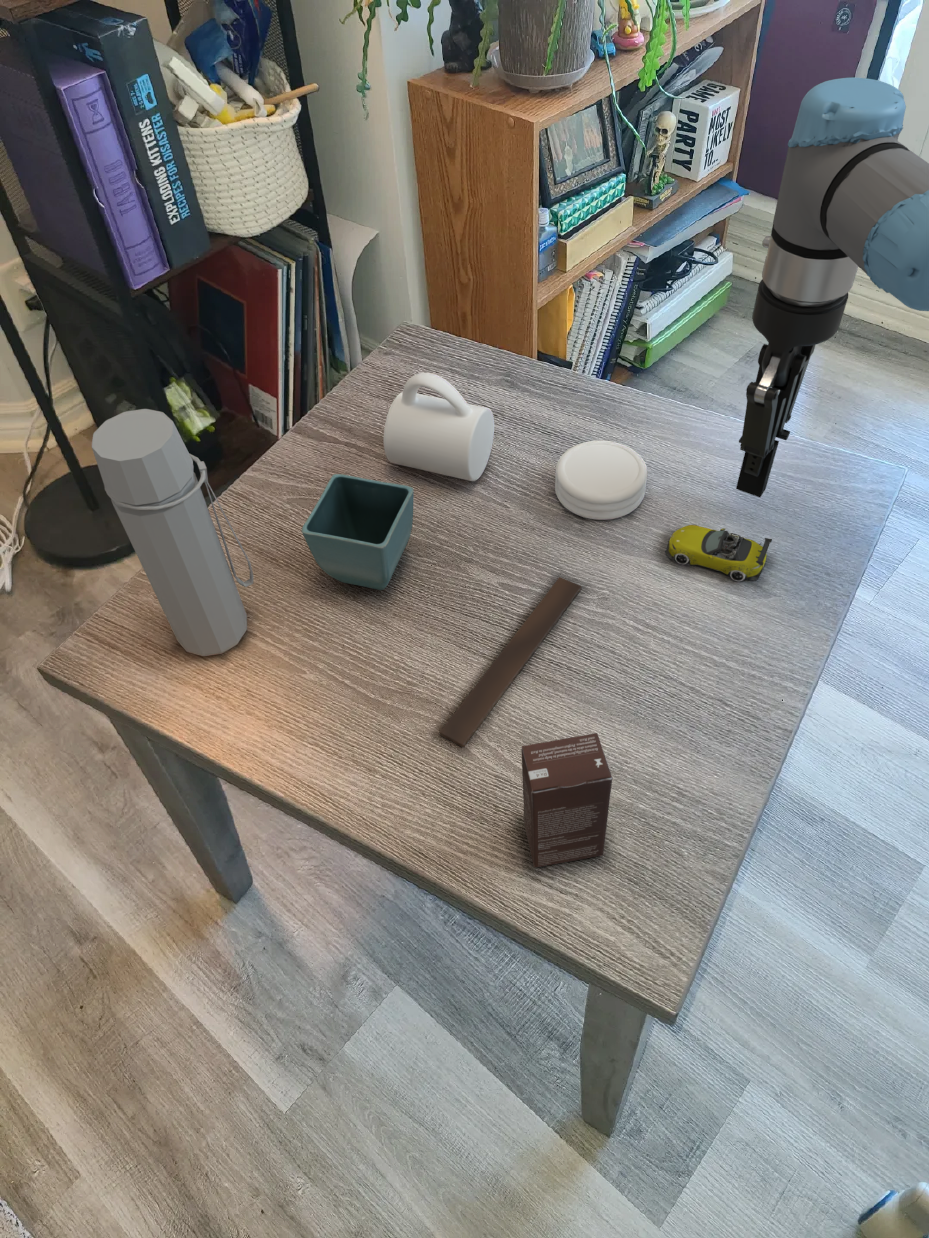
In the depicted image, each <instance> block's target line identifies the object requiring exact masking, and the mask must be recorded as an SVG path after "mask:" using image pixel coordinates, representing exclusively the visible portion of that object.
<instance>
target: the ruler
mask: <svg viewBox="0 0 929 1238" xmlns="http://www.w3.org/2000/svg"><path fill="white" fill-rule="evenodd" d="M582 587H583V586H582V585H579V584H577V583H575V582H573V581H570V580H569V579H565V578H563V577H561V576H558V578H557V579H556V580H555V582H554V583H553V584H552V585H551V587H550V588H549V590H548V591H547V592H546V593H545V595H544V596H543V598H542V599H541V600H540V601H539V602H538V604H537V605H536V606H535V608H534V609H533V610H532V611H531V613H530V614H529V615H528V617H527V618H526V619H525V621H524V622H523V623H522V625H521V626H520V627H519V629H518V630H517V631H516V632H515V634H514V635H513V636H512V637H511V639H510V640H509V642H508V643H506V645H505V646H504V648H503V649H502V651H500V653H499V654H498V656H497V657H496V658H495V659H494V661H493V662H492V663H491V664H490V666H489V667H488V668H487V670H486V671H485V672H484V673H483V675H482V676H481V678H480V679H479V680H478V681H477V682H476V684H475V685H474V686H473V688H472V689H471V690H470V692H469V693H468V694H467V696H466V697H465V698H464V699H463V700H462V702H461V703H460V705H459V706H458V707H457V708H456V710H455V711H454V712H453V714H452V715H451V716H450V718H448V719H447V721H446V723H445V724H444V725H443V726H442V728H441V729H440V730H439V732H438V735H439V736H440V737H443V739H444V738H445V739H447V740H448V741H450V742H452V743H454V744H455V745H458V746H460V747H461V748H465V747H466V745H467V744H468V742H469V741H470V740H471V739H472V737H473V736H474V734H475V733H476V731H477V730H478V729H479V727H480V726H481V725H482V724H483V722H484V721H485V719H486V718H487V717H488V715H489V714H491V711H492V710H493V709H494V707H495V706H496V705H497V704H498V702H499V701H500V700H501V698H502V697H503V695H504V694H505V693H506V691H507V690H508V688H509V687H510V686H511V685H512V683H513V682H514V680H515V679H516V678H517V677H518V676H519V674H520V672H522V671H523V668H524V667H525V666H526V664H527V663H528V662H529V661H530V659H531V658H532V657H533V655H534V654H535V652H537V650H538V649H539V648H540V646H541V644H542V643H543V642H544V640H545V639H546V638H547V636H548V635H549V634H550V632H551V631H552V629H553V628H554V627H555V626H556V624H557V622H559V620H560V619H561V617H562V616H563V615H564V614H565V612H566V611H567V609H568V608H569V607H570V606H571V604H572V603H573V601H574V600H575V599H576V598H577V596H578V595H579V593H580V592H581V591H582Z"/></svg>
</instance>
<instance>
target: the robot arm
mask: <svg viewBox="0 0 929 1238" xmlns="http://www.w3.org/2000/svg"><path fill="white" fill-rule="evenodd" d="M906 108H907V106H906V101H905V97H904V94H903V93H902V92H901V90H900V89H899V88H897V87H896V86H894V85H892V84H889V83H887V82H886V81H885V82H884V81H881V80H877V79H872V78H865V77H841V78H835V79H830V80H825V81H823V82H821V83H819V84H816V85H815V86H813V87H812V88H811V89H809V90H808V91H807V93H806V94H805V95H804V96H803V98H802V100H801V102H800V106H799V109H798V113H797V117H796V121H795V124H794V129H793V132H792V135H791V137H790V139H788V143H787V151H786V152H787V153H786V157H785V163H784V168H783V172H782V177H781V182H780V186H779V190H778V197H777V201H776V206H775V212H774V214H773V215H774V216H773V221H772V228H771V232H770V235H765V237H764V239H762V240H761V241H762V243H761V244H762V245H761V246H762V247H763V248H765V249H767V253H766V255H765V257H764V258H765V259H764V261H763V268H762V271H761V280H760V282H759V284H758V287H757V291H756V296H755V301H754V305H753V309H752V315H751V321H752V323H753V326H754V328H755V329H756V330H757V332H758V333H760V334H761V335H762V336H763V337H764V338H765V340H766V341H767V344H766V343H764V344H762V346H761V348H760V351H759V354H758V358H757V364H758V366H759V367H758V370H757V374H756V378H755V381H751V382H749V384H748V385H747V387H746V389H745V390H746V393H745V395H746V406H745V407H746V408H745V414H744V420H743V427H742V433H741V434H742V435H741V437H740V438H739V439H738V443H739V445H740V447H739V450H740V451H743V452H744V454H743V459H742V462H741V467H740V470H739V475H738V479H737V483H736V487H735V490H737V491H740V492H743V493H745V494H749V495H751V496H754V497H756V498H761V497H762V496H763V494H764V493H765V491H766V490H767V486H768V482H769V478H770V476H771V471H772V468H773V464H774V460H775V457H776V453H777V450H778V447H779V444H780V440H783V441H788V439H789V436H790V434H791V431H790V430H787V429H785V425H786V424H788V422H789V421H791V418H792V412H793V409H794V407H795V404H796V401H797V398H798V395H799V392H800V389H801V387H802V383H803V381H804V378H805V374H806V371H807V368H808V366H809V362H810V359H811V357H812V356H813V354H814V352H815V348H816V345H820V344H822V343H825V342H826V341H828V340H830V339H831V338H833V337H834V336H835V335H836V333H837V332H838V331H839V329H840V325H841V323H842V319H843V315H844V314H845V313H844V312H845V310H846V305H847V303H848V300H849V292H850V291H851V290H852V288H853V286H854V283H855V280H856V276H857V273H858V269H860V270H861V271H863V273H865V274H866V276H867V277H869V279H870V281H871V282H872V283H873V284H874V285H875V286H876V287H877V288H878V289H879V290H882V291H884V292H885V293H886V294H890V295H891V296H893V297H894V298H895V299H897V300H898V301H899V302H901V304H903V305H904V306H905V307H907V308H909V309H911V310H915V311H918V312H929V162H928V161H926V160H925V159H923V158H922V157H921V156H919V155H918V154H917V153H915V152H914V151H912V150H910V149H909V148H908V147H907V146H906V145H904V144H903V143H901V142H900V141H899V140H898V139H899V136H900V134H901V132H902V131H903V129H904V119H905V118H904V117H905V114H906ZM776 438H777V439H780V440H776Z"/></svg>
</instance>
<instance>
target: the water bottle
mask: <svg viewBox="0 0 929 1238" xmlns="http://www.w3.org/2000/svg"><path fill="white" fill-rule="evenodd" d="M91 450H92V452H93V455H94V458H95V461H96V465H97V468H98V470H99V474H100V477H101V480H102V483H103V487H104V491H105V492H106V495H107V496H108V497H109V498H110V501H111V503H112V505H113V508H114V511H115V512H116V514H117V516H118V518H119V520H120V522H121V525H122V526H123V529H124V531H125V533H126V535H127V537H128V539H129V541H130V543H131V546H132V548H133V550H134V552H135V554H136V556H137V558H138V560H139V563H140V565H141V567H142V569H143V571H144V573H145V575H146V577H147V580H148V582H149V584H150V586H151V588H152V590H153V592H154V594H155V597H156V599H157V601H158V603H159V605H160V607H161V609H162V612H163V613H164V615H165V618H166V620H167V623H168V624H169V626H170V628H171V630H172V632H173V635H174V636H175V639H176V641H177V642H178V643H179V645H180V646H181V647H182V648H183V649H184V650H185V652H187V653H190V654H194V655H197V656H201V657H208V656H215V655H222V654H224V653H226V652H227V651H229V650H231V649H232V648H235V647H236V646H237V645H238V644H239V642H240V641H241V640H242V638H243V636H244V634H245V633H246V632H247V630H248V614H247V612H246V609H245V606H244V603H243V601H242V598H241V595H240V592H239V589H238V587H237V585H236V582H237V583H238V584H239V585H240V586H241V587H244V588H247V587H250V586H252V585H254V572H253V567H252V564H251V561H250V559H249V557H248V554H247V553H246V551H245V550H244V548H243V546H242V544H241V542H240V540H239V538H238V536H237V534H236V532H235V530H234V529H233V526H232V525H231V523H230V521H229V519H228V517H227V515H226V513H225V512H224V510H223V508H222V505H221V504H220V502H219V499H218V498H217V496H216V494H215V493H214V491H213V489H212V487H211V484H210V483H209V479H208V468H207V466H206V463H205V461H204V460H203V461H201V460H200V459H199V457H197V456H196V455H193V454H191V453H189V451H188V448H187V447H186V445H185V442H184V441H183V439H182V436H181V434H180V433H179V431H178V429H177V426H176V424H175V423H174V421H173V420H172V419H171V418H170V417H169V416H168V415H167V414H165V413H164V412H163V411H159V410H154V409H149V408H141V409H134V410H128V411H123V412H121V413H119V414H117V415H115V416H113V417H111V418H108V419H106V420H105V421H103V423H102V424H101V425H100V426H99V427H98V428H97V429H96V430H95V431H94V432H93V434H92V441H91ZM194 462H195V464H196V465H197V468H198V471H199V475H200V478H199V480H198V477H197V474H196V472H194V467H195V466H194ZM203 484H205V488H206V492H207V493H208V494H207V495H208V497H209V500H210V504H211V507H212V511H213V513H214V517H215V521H216V524H217V526H218V530H219V534H220V536H221V540H222V542H223V546H224V549H225V550H224V549H223V546H222V543H221V541H220V538H219V534H218V532H217V530H216V526H215V525H214V521H213V518H212V516H211V513H210V510H209V507H208V505H207V502H206V499H205V497H204V493H203V491H202V489H201V487H202V485H203ZM209 489H210V490H209ZM211 493H212V495H213V497H214V500H215V502H216V503H217V505H218V507H219V509H220V511H221V513H222V515H223V517H224V519H225V522H226V523H227V524H228V526H229V528H230V531H231V532H232V534H233V537H234V538H235V540H236V542H237V544H238V546H239V548H240V549H241V552H242V553H243V555H244V558H245V560H246V562H247V566H248V570H249V579H247V580H245V581H244V580H242V579H240V577H238V576H237V573H236V570H235V566H234V564H233V561H232V557H231V554H230V552H229V547H228V545H227V542H226V539H225V536H224V533H223V529H222V526H221V523H220V520H219V517H218V514H217V511H216V509H215V505H214V502H213V499H212V495H211ZM224 551H225V552H224ZM225 553H226V554H225ZM226 556H227V557H226ZM227 559H228V560H227ZM234 578H235V579H234ZM235 580H236V582H235Z"/></svg>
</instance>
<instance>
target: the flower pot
mask: <svg viewBox="0 0 929 1238" xmlns="http://www.w3.org/2000/svg"><path fill="white" fill-rule="evenodd" d="M414 493H415V489H414V487H412V486H409V485H406V484H400V483H395V482H394V483H393V482H386V481H380V480H374V479H369V478H365V477H364V478H363V477H360V476H353V475H349V474H342V473H334V474H332V476H331V477H330V478H329V481H328V482H327V484H326V486H325V487H324V490H323V491H322V493H321V495H320V497H319V498H318V500H317V502H316V504H315V506H314V507H313V509H312V510H311V512H310V514H309V516H308V518H307V519H306V521H305V522H304V524H303V525H302V527H301V534H302V536H303V538H304V540H305V543H306V544H307V547H308V548H309V551H310V553H311V555H312V556H313V558H314V561H315V562H316V564H317V565H318V567H320V569H321V570H322V571H323V572H324V573H325V574H327V575H328V576H330V577H331V578H333V579H335V580H337V581H338V582H340V583H343V584H347V585H348V584H349V585H355V586H359V587H364V588H368V589H372V590H373V589H374V590H379V591H382V590H385V589H386V588H387V587H388V585H389V583H390V581H391V579H392V577H393V575H394V572H395V570H396V569H397V567H398V564H399V562H400V559H402V558H401V557H402V555H403V553H404V551H405V549H406V547H407V545H408V543H409V540H410V537H411V533H412V530H413V529H412V528H413V524H414V523H413V522H414V500H415V499H414V497H415V496H414Z"/></svg>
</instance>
